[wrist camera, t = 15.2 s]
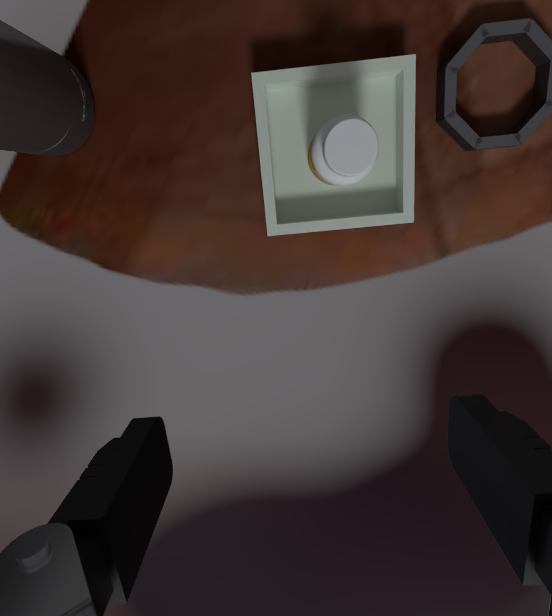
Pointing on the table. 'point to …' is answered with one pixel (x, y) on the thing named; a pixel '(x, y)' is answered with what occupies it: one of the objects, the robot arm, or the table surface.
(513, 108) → the table surface
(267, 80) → the tray
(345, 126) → the supplement bottle
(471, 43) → the holder ring
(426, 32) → the table surface
